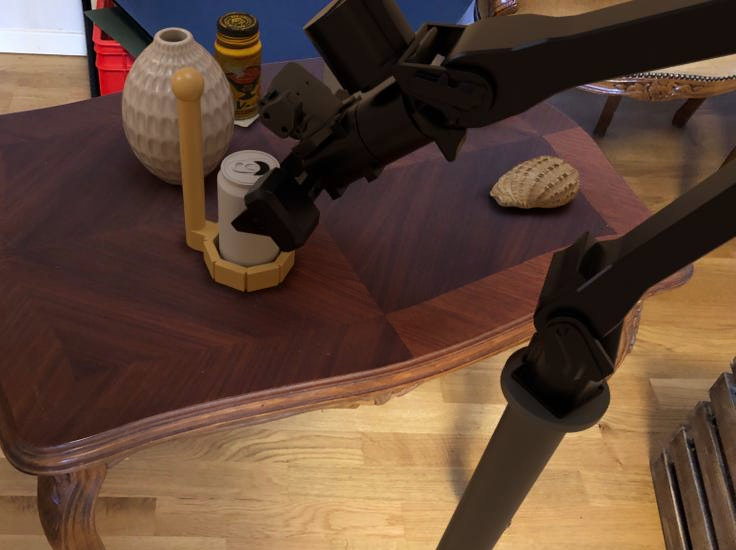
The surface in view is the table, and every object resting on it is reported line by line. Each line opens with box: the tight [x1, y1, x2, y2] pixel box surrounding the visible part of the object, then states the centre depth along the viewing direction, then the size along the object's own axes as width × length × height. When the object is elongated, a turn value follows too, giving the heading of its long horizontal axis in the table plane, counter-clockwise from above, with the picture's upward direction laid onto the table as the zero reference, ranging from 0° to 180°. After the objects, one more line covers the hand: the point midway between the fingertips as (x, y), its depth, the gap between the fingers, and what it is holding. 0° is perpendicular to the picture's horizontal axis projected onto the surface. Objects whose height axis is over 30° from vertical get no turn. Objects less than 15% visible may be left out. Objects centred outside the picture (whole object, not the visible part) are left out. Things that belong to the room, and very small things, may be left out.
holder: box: [171, 67, 296, 293], centre depth 70 cm, size 13×9×20 cm
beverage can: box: [216, 149, 280, 268], centre depth 72 cm, size 6×6×12 cm
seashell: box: [488, 154, 581, 209], centre depth 83 cm, size 8×6×10 cm
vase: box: [121, 27, 235, 186], centre depth 81 cm, size 13×13×17 cm
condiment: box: [213, 11, 263, 128], centre depth 92 cm, size 7×8×12 cm
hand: (255, 199), depth 70 cm, fingers open, 9 cm apart
